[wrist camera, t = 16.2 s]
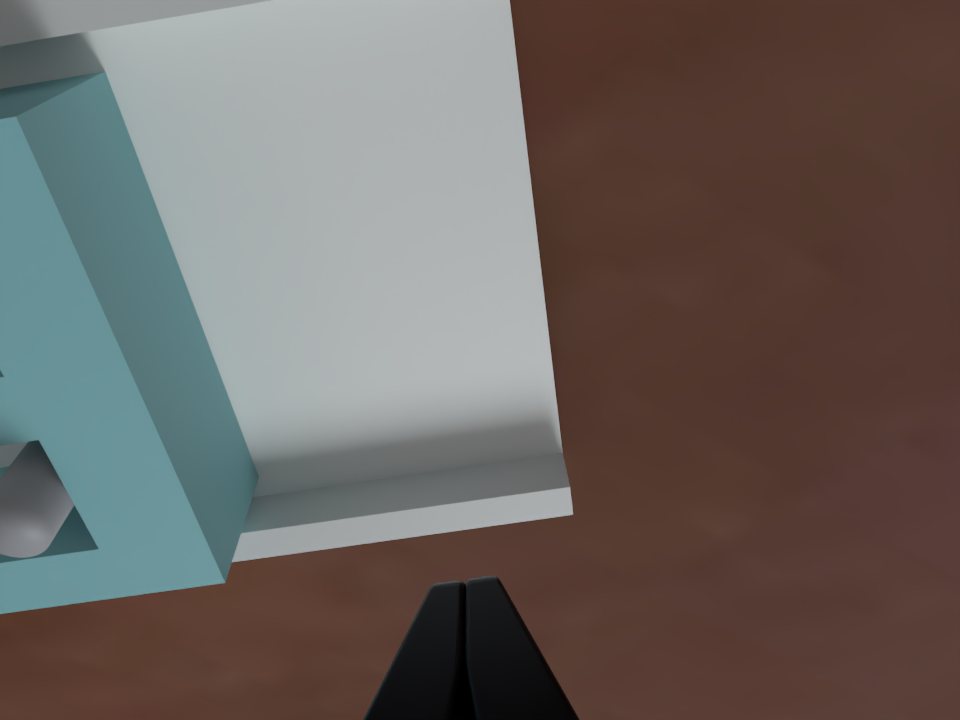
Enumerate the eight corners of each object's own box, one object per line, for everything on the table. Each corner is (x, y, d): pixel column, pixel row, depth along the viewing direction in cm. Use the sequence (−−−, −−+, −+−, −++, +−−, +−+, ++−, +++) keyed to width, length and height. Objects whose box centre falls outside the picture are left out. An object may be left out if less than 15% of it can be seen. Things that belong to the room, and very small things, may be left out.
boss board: (493, -103, 16) (519, -103, 11) (560, 454, 24) (594, 614, 18) (-235, 24, 17) (-550, 81, 11) (56, 526, 24) (-53, 701, 19)
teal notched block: (105, 71, 16) (16, 116, 13) (258, 476, 22) (225, 582, 19) (-209, 123, 17) (-378, 181, 13) (23, 510, 22) (-53, 621, 19)
